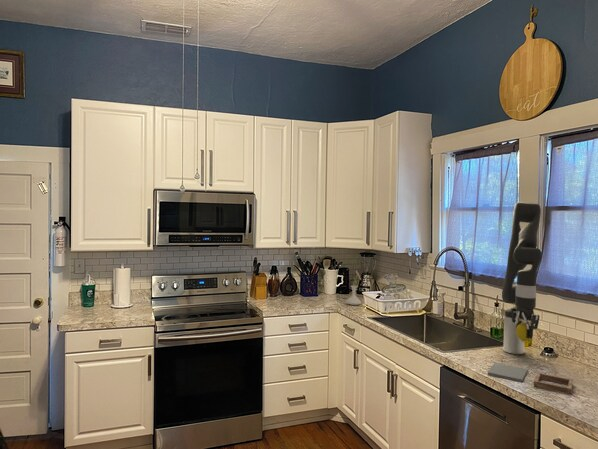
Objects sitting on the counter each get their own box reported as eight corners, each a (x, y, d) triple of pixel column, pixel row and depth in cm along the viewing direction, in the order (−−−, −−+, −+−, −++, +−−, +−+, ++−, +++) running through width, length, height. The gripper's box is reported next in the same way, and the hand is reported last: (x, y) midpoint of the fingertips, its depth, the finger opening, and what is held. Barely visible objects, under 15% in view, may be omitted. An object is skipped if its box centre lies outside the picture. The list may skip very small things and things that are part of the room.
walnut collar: (537, 377, 181) (537, 372, 181) (572, 384, 174) (572, 379, 174) (533, 386, 170) (533, 381, 170) (571, 394, 163) (571, 389, 163)
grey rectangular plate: (494, 364, 195) (495, 362, 195) (527, 371, 188) (527, 368, 188) (487, 374, 182) (487, 372, 182) (522, 382, 175) (522, 379, 175)
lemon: (516, 342, 179) (517, 323, 179) (514, 339, 184) (515, 320, 184) (531, 344, 177) (532, 324, 177) (529, 340, 183) (530, 321, 182)
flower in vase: (357, 306, 316) (358, 272, 315) (343, 304, 322) (344, 270, 321) (364, 304, 327) (365, 270, 326) (350, 302, 333) (352, 269, 332)
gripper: (546, 299, 174) (544, 341, 175) (521, 292, 188) (519, 331, 189) (530, 299, 173) (528, 341, 173) (506, 292, 187) (504, 331, 187)
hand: (523, 335), depth 181 cm, fingers closed on lemon, 5 cm apart
